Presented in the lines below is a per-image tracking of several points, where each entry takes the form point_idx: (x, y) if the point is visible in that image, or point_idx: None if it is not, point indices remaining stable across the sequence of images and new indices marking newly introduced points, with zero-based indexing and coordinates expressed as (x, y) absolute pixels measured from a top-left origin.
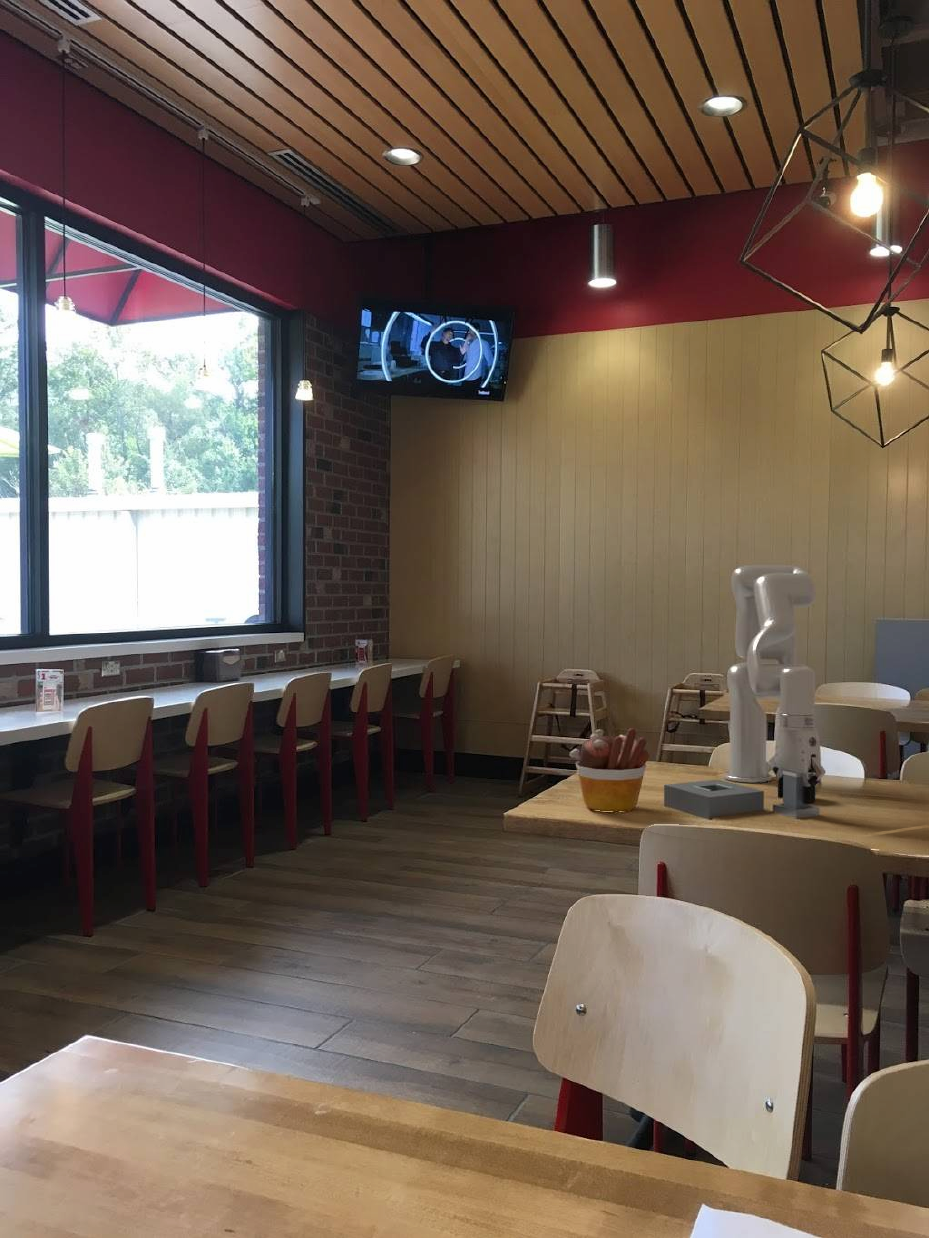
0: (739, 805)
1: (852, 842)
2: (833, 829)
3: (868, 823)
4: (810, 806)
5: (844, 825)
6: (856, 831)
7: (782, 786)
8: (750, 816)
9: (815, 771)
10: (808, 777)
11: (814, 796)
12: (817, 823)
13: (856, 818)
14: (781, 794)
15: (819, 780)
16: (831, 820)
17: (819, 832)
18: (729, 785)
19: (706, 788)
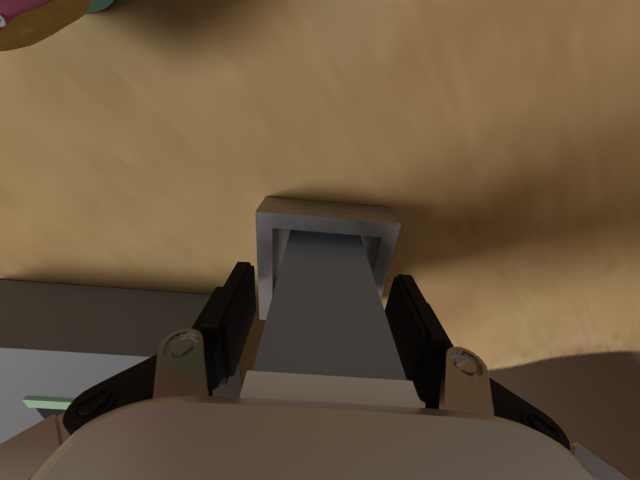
0: (230, 390)
1: (591, 352)
2: (502, 294)
3: (589, 110)
4: (359, 234)
5: (512, 226)
6: (574, 261)
7: (240, 342)
8: (256, 347)
9: (491, 428)
10: (399, 376)
11: (432, 312)
12: (428, 274)
13: (510, 61)
14: (251, 315)
15: (532, 411)
16: (441, 201)
17: (484, 341)
18: (50, 380)
19: (59, 414)
